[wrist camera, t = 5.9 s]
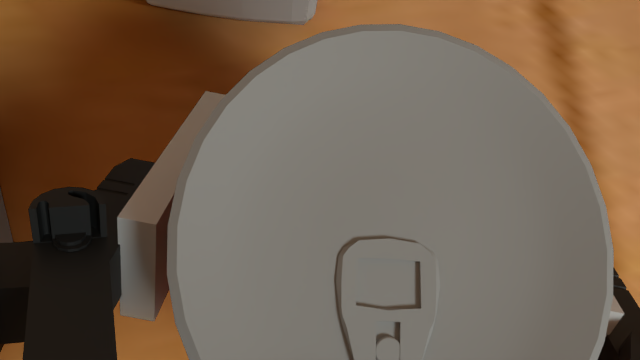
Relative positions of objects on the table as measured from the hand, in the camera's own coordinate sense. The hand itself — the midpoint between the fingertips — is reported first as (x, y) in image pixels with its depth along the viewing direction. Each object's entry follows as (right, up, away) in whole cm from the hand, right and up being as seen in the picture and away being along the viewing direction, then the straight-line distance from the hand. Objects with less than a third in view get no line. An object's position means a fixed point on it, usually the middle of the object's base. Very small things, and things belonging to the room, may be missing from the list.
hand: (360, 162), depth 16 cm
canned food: (-1, -4, +3) cm, 5 cm away
